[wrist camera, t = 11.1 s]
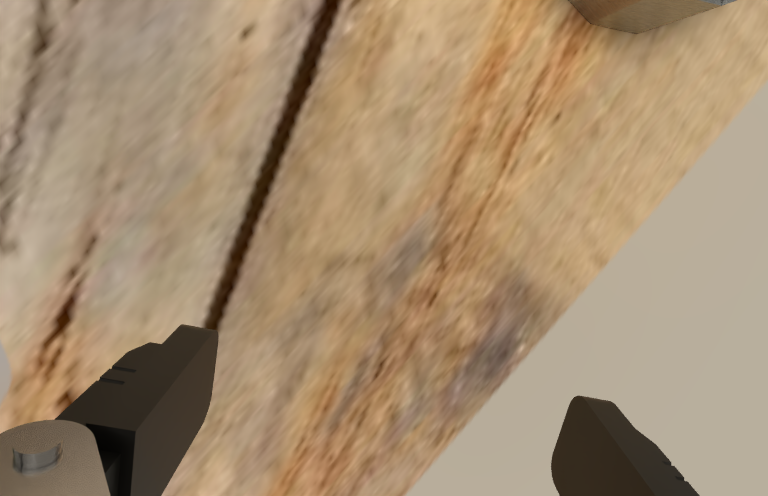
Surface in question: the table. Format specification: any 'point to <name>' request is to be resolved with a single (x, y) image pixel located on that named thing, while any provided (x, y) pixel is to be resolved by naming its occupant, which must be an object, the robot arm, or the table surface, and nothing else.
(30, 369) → the table surface
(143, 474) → the robot arm
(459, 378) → the table surface
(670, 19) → the pot
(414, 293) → the table surface
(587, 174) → the table surface
